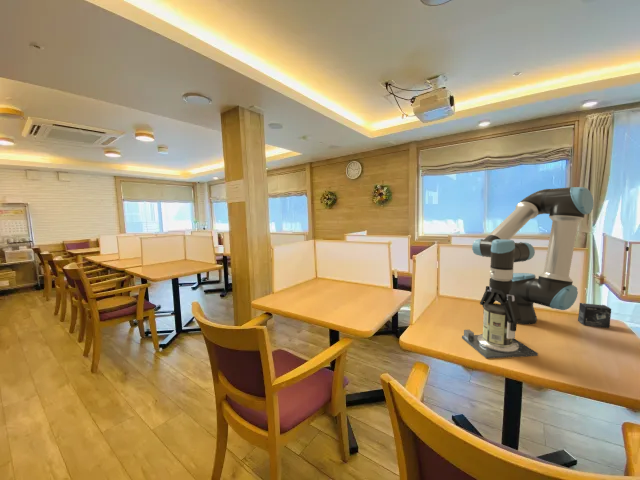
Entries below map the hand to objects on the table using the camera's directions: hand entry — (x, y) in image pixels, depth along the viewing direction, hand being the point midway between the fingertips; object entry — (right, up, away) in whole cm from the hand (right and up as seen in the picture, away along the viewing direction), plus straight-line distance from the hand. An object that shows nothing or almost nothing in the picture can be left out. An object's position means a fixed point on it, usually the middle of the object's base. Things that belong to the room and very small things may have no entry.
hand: (498, 330), depth 108 cm
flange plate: (0, -7, +1) cm, 7 cm away
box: (+57, -4, +19) cm, 60 cm away
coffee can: (0, -5, +1) cm, 5 cm away
